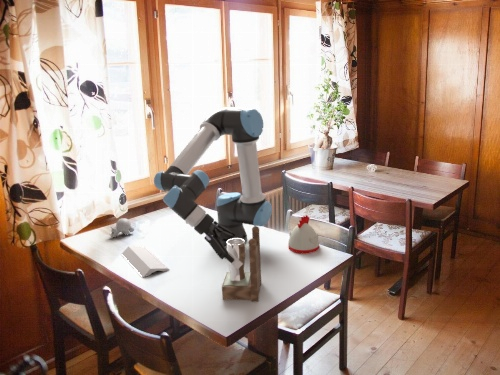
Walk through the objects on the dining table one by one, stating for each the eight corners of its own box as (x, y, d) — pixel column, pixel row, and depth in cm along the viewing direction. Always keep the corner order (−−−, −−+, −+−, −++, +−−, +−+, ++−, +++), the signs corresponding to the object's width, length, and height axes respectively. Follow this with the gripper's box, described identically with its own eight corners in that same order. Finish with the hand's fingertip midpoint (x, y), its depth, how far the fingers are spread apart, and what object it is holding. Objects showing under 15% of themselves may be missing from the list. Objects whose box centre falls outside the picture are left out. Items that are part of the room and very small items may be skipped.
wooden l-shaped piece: (222, 301, 172) (218, 240, 165) (228, 282, 186) (224, 225, 180) (258, 301, 171) (255, 240, 164) (261, 282, 185) (259, 225, 178)
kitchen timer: (324, 246, 216) (324, 215, 212) (307, 256, 206) (307, 224, 202) (300, 239, 225) (299, 209, 221) (282, 248, 215) (281, 217, 211)
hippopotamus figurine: (111, 240, 241) (103, 227, 237) (131, 226, 246) (123, 213, 242) (116, 244, 235) (108, 231, 232) (136, 230, 240) (128, 217, 236)
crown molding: (169, 271, 199) (168, 263, 198) (141, 279, 193) (140, 271, 192) (146, 249, 223) (145, 242, 222) (120, 255, 217) (119, 248, 216)
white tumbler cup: (224, 278, 178) (222, 242, 173) (237, 272, 182) (235, 236, 178) (237, 284, 173) (235, 246, 169) (250, 277, 177) (249, 240, 173)
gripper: (200, 215, 185) (240, 251, 188) (185, 240, 161) (231, 280, 164) (212, 202, 183) (252, 238, 185) (199, 225, 159) (245, 266, 162)
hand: (242, 258), depth 175 cm, fingers open, 13 cm apart
